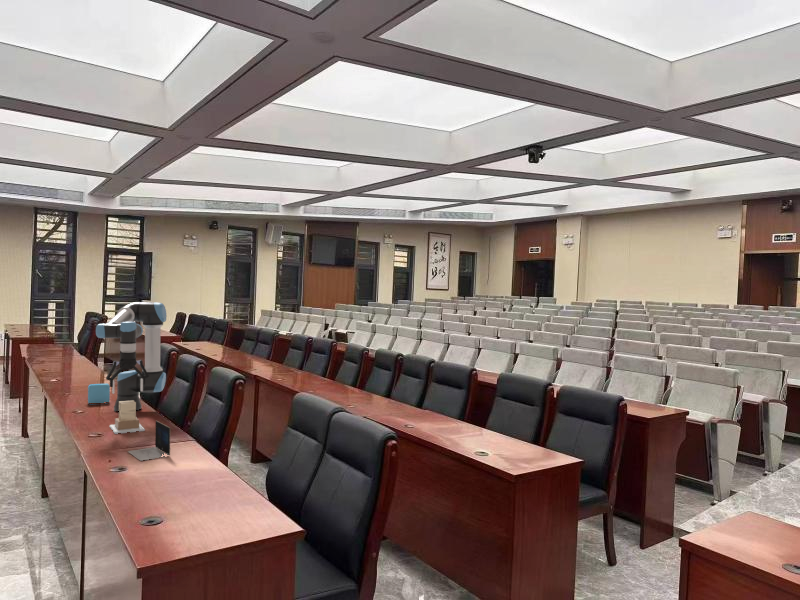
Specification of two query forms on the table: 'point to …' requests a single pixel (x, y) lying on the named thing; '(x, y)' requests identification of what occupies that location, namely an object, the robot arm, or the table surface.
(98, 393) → the data package
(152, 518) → the table surface
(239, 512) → the table surface
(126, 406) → the maple block
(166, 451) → the laptop
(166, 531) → the table surface
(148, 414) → the table surface
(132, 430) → the white tray
